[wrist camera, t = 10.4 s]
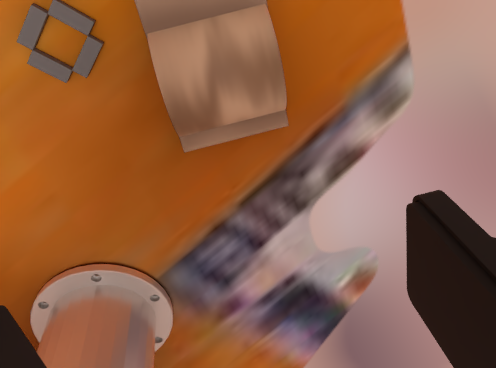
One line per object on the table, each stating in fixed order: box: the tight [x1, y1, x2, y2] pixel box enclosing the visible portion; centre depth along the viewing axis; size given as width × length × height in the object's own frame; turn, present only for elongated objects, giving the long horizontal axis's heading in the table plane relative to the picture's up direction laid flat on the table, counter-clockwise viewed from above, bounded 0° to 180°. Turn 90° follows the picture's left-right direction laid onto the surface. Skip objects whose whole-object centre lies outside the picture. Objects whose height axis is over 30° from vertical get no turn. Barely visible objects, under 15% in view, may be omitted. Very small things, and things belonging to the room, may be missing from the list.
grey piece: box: [17, 0, 104, 83], centre depth 28 cm, size 5×5×1 cm
